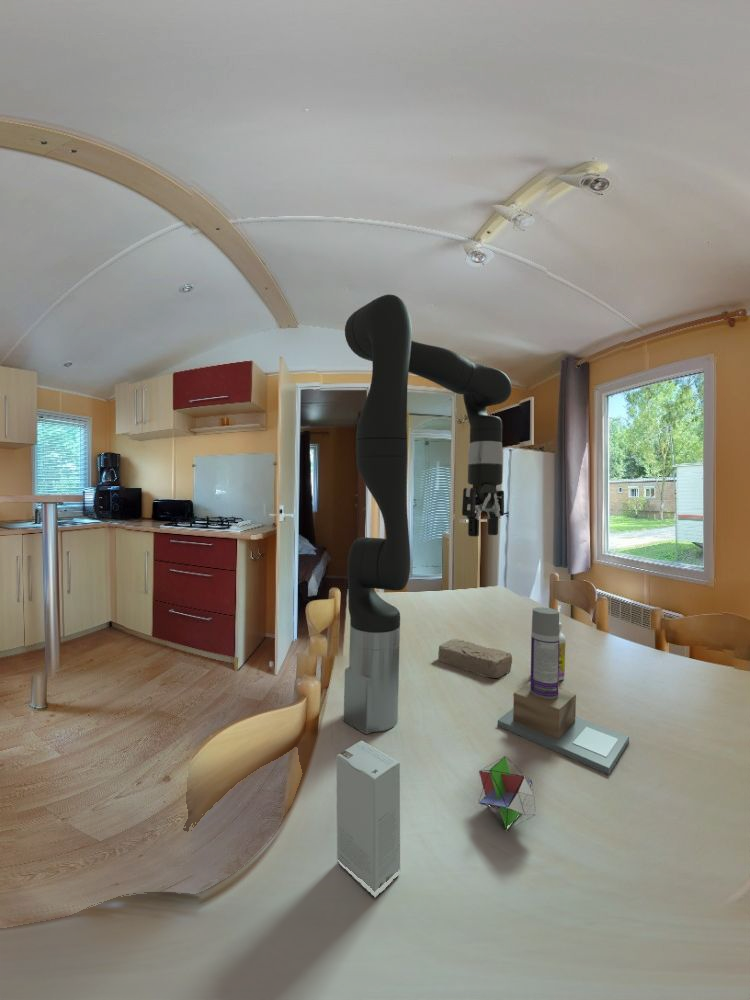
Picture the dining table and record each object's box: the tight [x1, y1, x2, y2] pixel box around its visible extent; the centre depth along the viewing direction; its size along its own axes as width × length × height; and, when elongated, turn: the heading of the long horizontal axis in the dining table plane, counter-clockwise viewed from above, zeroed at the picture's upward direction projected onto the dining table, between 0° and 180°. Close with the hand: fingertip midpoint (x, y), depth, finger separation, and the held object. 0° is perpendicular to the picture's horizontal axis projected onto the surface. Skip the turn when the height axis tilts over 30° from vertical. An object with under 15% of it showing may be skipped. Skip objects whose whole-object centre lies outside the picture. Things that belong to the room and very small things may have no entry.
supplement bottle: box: [559, 621, 567, 681], centre depth 95 cm, size 7×7×13 cm
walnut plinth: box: [512, 680, 577, 739], centre depth 73 cm, size 8×8×5 cm
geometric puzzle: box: [477, 754, 537, 831], centre depth 51 cm, size 7×7×8 cm
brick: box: [437, 638, 513, 679], centre depth 100 cm, size 17×8×5 cm, turn 48°
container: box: [530, 606, 560, 699], centre depth 73 cm, size 5×5×15 cm
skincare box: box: [335, 740, 401, 892], centre depth 44 cm, size 6×4×12 cm
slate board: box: [497, 708, 630, 775], centre depth 71 cm, size 12×18×1 cm, turn 45°
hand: (483, 535), depth 90 cm, fingers open, 8 cm apart
